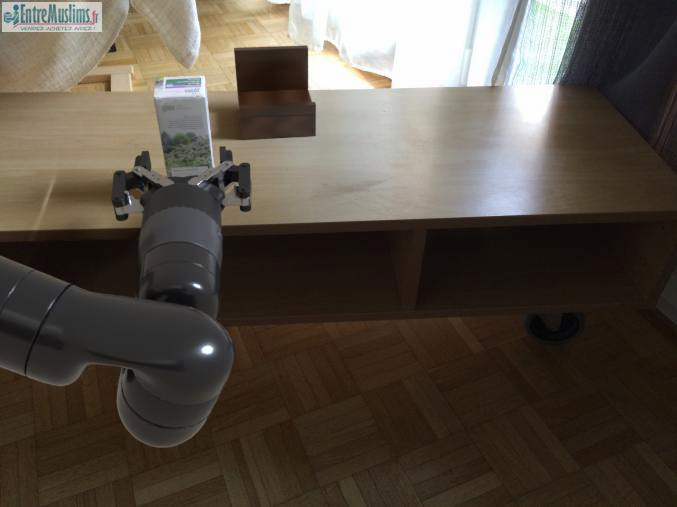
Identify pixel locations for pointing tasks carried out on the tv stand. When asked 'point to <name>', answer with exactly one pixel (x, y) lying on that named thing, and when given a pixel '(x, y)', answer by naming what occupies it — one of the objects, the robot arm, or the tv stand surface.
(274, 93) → the spice rack
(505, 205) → the tv stand surface
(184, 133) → the syrup box
